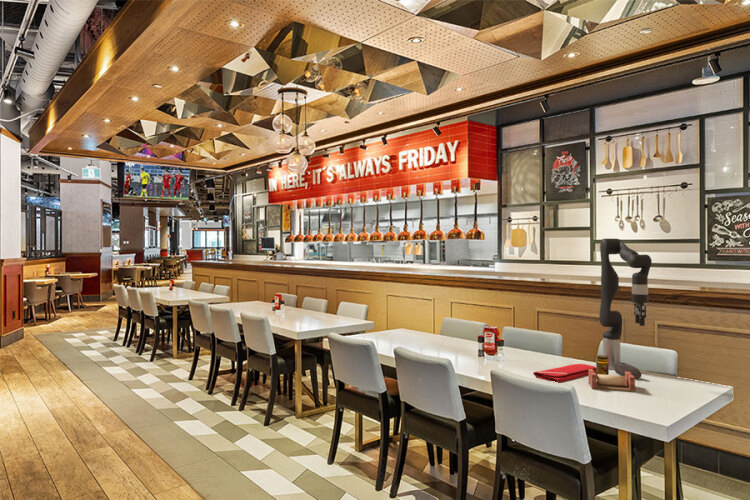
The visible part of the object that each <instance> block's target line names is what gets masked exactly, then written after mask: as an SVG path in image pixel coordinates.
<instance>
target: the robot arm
mask: <svg viewBox="0 0 750 500" xmlns="http://www.w3.org/2000/svg"><path fill="white" fill-rule="evenodd" d="M599 244H600V245H599V253H600V265H601V271H600V272H601V273H600V274H601V276H600V289H601V290H600V291H601V292H600V307H599V318H598V319H599V322H600V325H601V326H602V327H604V328H605V327H606V328H608V329H607V331H604V332H603V333H602V355H603V356H607V357H608V362H609V370H612V371H613V370H614V371H615V363H616V362H621V336H622V331H623V316H622V314H621V312H620V311H618V310H611V308H612V302H613V300H614V298H615V297H616V295H617V293H618V291H619V284H620V283H619V282H620V280H619V279H620V278H619V275H618V273H617V271H616V270H615V268H614V267H613V265H612V263H611V260H610V255H619V257H620V258H621V260H623V261H625V262H626V263H627V264H628V266H629V267H630V268H632V269H640V271H637V272H634V273H632V276H631V302H632V303H633V315H634V316H635V324H639V327H644V326H645V322H646V320H645V319H646V318H647V306H646V305H645V304H648V302H649V286H648V285H649V284H648V283H649V281H648V277H649V273H650V270H651V267H652V258H651V256H650V255H649V254H639V253H638V251H635V250H634V249H632V248H630V247H628V245H627V244H625V242H623V241H622V240H621V239H619V238H602V239H601V241H600V243H599Z"/></svg>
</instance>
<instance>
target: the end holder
mask: <svg viewBox="0 0 750 500" xmlns="http://www.w3.org/2000/svg"><path fill="white" fill-rule="evenodd" d="M587 377H588V381H587V382H588V384H589V386H590V388H591V389H592V390H598V389H600V390H601V391H612V390H613V391H616V392H617V391H618V392H626V393H627V392H628V393H636V379H635V377H634V376H633V375H632V374H631V373H630V372H627V371H625V376H624V377H625V386H612V385H598V383H597V375H596V373H595V372H594V371H593V369H588V375H587Z"/></svg>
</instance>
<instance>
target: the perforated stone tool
mask: <svg viewBox="0 0 750 500" xmlns="http://www.w3.org/2000/svg"><path fill="white" fill-rule="evenodd" d="M625 371H627V372H630V373H631V374H632V375H633V376H634V377H635V380H637V379H641V378H642V371H641V370H640V369H639V368H637V367H636V366H634V365H632V364H630V363H629V364H628V363H626V362H622V361H620V362H616V363H615V370H614V372H615V373H616V374H618V376H624V377H625Z"/></svg>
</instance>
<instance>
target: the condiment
mask: <svg viewBox="0 0 750 500" xmlns="http://www.w3.org/2000/svg"><path fill="white" fill-rule="evenodd" d="M595 367H596V373H595V374H596V375H597V374H601V375H610V373H609V370H610V369H609V362H608V357H607V356H603V354H601V355H597V356H596V361H595Z"/></svg>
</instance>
